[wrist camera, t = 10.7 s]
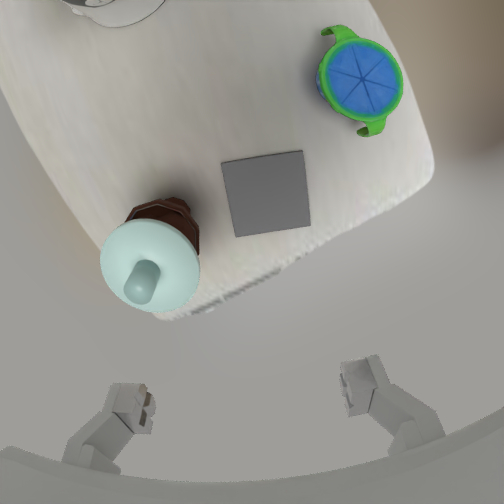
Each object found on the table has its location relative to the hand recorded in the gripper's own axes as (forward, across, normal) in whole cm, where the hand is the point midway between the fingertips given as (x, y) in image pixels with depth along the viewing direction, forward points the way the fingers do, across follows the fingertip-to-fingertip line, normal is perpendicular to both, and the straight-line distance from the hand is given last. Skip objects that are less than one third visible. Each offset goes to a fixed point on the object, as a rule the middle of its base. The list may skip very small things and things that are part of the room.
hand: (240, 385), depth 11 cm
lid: (+22, +12, +6) cm, 26 cm away
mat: (+37, -3, +5) cm, 38 cm away
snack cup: (+37, -16, -11) cm, 42 cm away
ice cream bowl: (+37, +12, +5) cm, 40 cm away
